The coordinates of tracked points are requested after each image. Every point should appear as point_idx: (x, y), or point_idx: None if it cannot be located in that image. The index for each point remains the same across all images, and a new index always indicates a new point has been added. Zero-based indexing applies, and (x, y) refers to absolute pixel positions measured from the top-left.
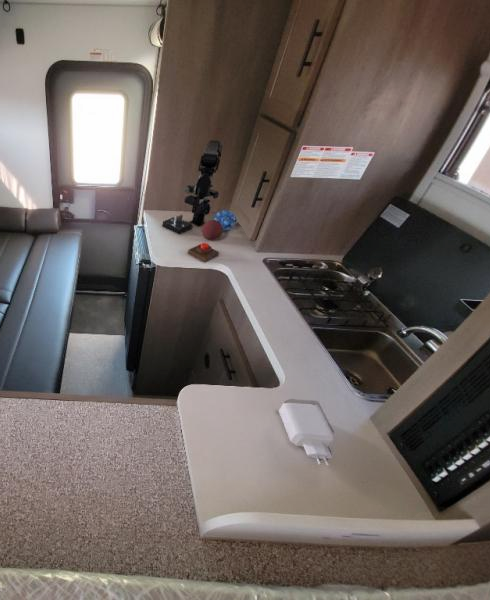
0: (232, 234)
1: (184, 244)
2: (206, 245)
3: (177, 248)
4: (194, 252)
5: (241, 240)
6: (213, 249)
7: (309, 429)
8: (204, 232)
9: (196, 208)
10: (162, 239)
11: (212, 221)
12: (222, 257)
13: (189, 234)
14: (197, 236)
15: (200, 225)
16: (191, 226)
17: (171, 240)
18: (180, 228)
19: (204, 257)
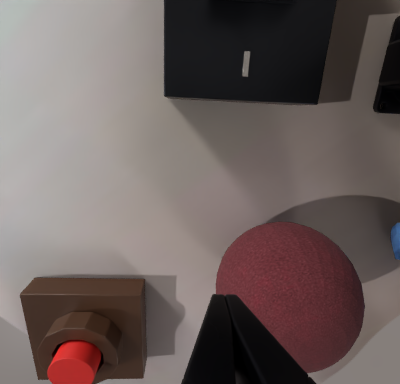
0: (393, 289)
1: (94, 207)
2: (71, 382)
3: (23, 212)
4: (27, 326)
5: (357, 340)
6: (139, 356)
7: None
8: (218, 276)
9: (186, 374)
10: (10, 69)
11: (295, 346)
12: (152, 371)
13: (224, 146)
14: (238, 194)
15: (392, 113)
16: (304, 104)
17: (58, 123)
18: (177, 91)
19: (38, 373)
